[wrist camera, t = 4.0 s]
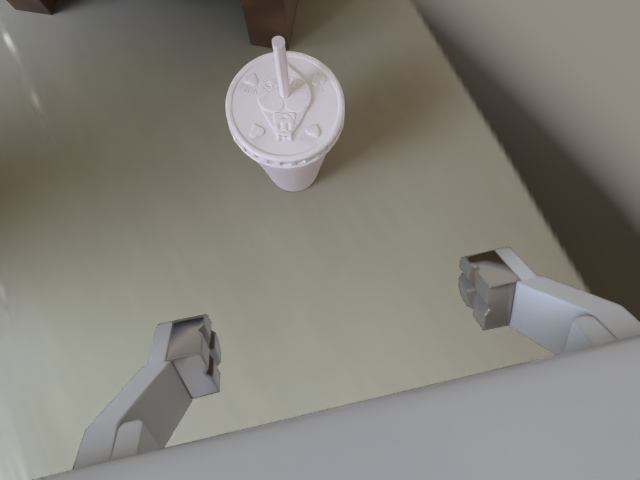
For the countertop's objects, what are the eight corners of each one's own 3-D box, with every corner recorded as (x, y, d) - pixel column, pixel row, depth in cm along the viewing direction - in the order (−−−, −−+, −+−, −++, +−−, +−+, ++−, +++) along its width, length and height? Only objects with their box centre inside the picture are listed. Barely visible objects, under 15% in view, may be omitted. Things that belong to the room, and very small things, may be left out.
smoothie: (335, 127, 32) (351, -14, 18) (337, 209, 31) (356, 124, 17) (251, 128, 32) (204, -13, 18) (250, 210, 31) (199, 125, 17)
